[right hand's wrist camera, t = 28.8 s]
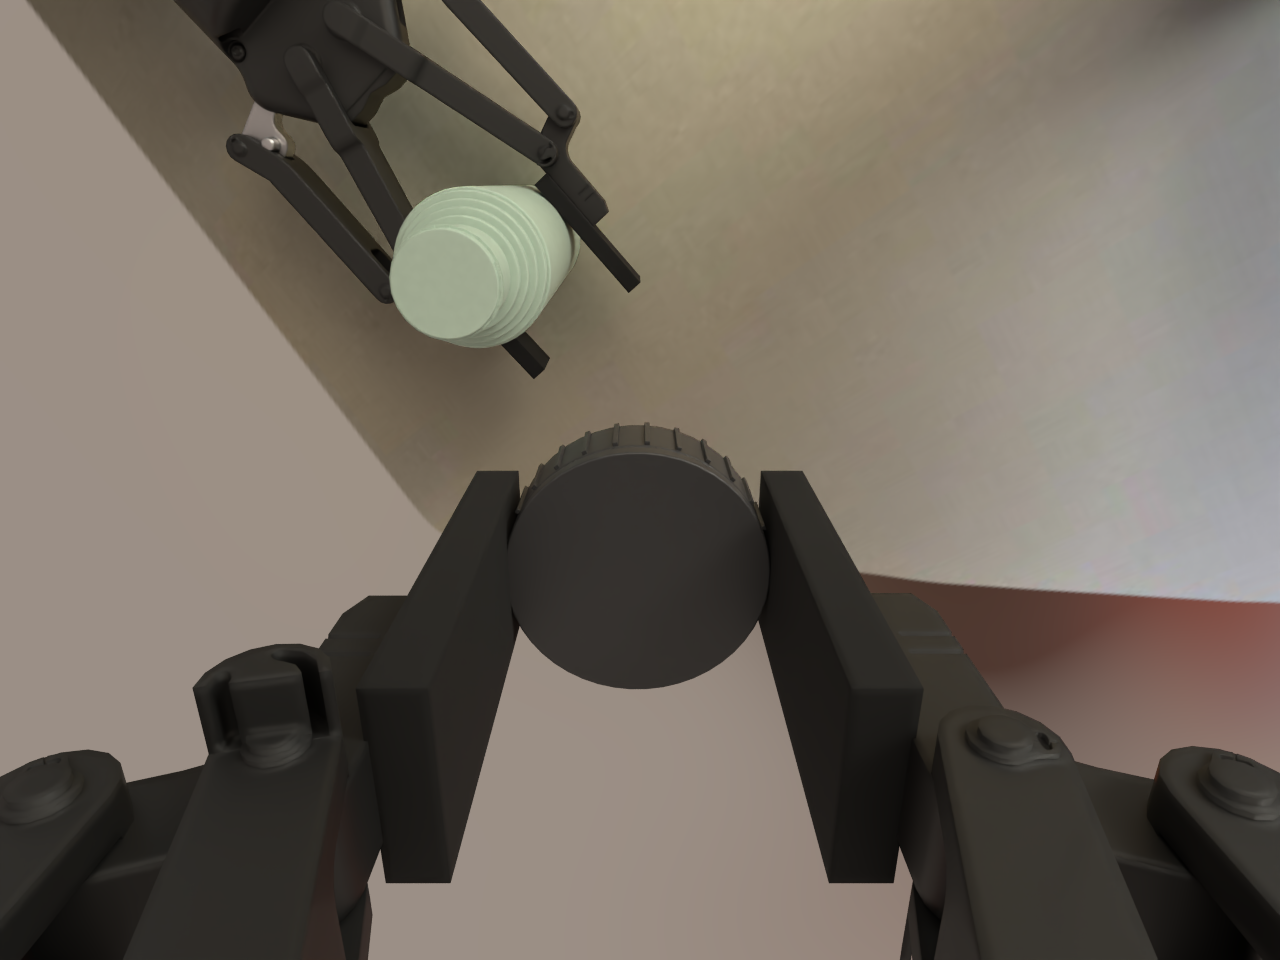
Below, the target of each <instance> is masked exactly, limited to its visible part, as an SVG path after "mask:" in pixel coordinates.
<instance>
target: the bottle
mask: <svg viewBox="0 0 1280 960" xmlns="http://www.w3.org/2000/svg"><path fill="white" fill-rule="evenodd" d="M579 250H580V237H579V236H578V234H577V233H576V232H575V231H574V230H573V229H572V228H571V226H570V225H569V224H568V223H567V222H566V221H565V220H564V218H563V217H562V216H561V215H560V214H559V213H558V212H557V210H556V209H555V208H554V207H553V206H552V205H551V203H550V202H549V201H548V200H547V199H546V198H545V197H544V195H543V194H542V193H541V192H540V191H539V190H538V189H537V187H536V186H533V185H504V186H461V187H453V188H448V189H444V190H442V191H439V192H436V193H434V194H432V195H431V196H429V197H427V198H425V199H424V200H423V201H422V202H420V203H419V204H418V205H417V206H416V207H415V208H414V209H413V210H412V211H411V212H410V213H409V215H408V216H407V218H406V219H405V220H404V222H403V224H402V226H401V228H400V230H399V233H398V236H397V239H396V243H395V247H394V254H393V260H392V262H391V268H390V276H389V280H390V288H391V294H392V297H393V299H394V302H395V304H396V307H397V309H398V310H399V312H400V313H401V314H402V316H403V317H404V319H405V320H406V321H407V322H408V323H409V324H410V325H411V326H413V327H414V328H415V329H416V330H417V331H419V332H421V333H423V334H425V335H427V336H429V337H430V338H434V339H438V340H443V341H446V342H449V343H452V344H455V345H458V346H463V347H468V348H488V347H493V346H498V345H501V344H504V343H507V342H509V341H511V340H513V339H515V338H516V337H518V336H519V335H521V334H522V333H524V332H525V331H526V330H527V329H528V328H529V327H530V326H531V325H532V324H533V323H534V321H535V320H536V319H537V318H538V316H539V315H540V313H541V312H542V311H543V309H544V308H545V306H546V305H547V304H548V302H549V301H550V299H551V298H552V296H553V295H554V294H555V292H556V291H557V289H558V288H559V287H560V285H561V284H562V282H563V281H564V279H565V278H566V277H567V275H568V274H569V272H570V271H571V269H572V268H573V266H574V265H575V262H576V260H577V258H578V254H579Z"/></svg>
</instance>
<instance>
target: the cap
mask: <svg viewBox="0 0 1280 960" xmlns="http://www.w3.org/2000/svg"><path fill="white" fill-rule="evenodd" d="M515 513H516V514H518V515H517V518H516V521H515V523H514V526H513V529H512V532H511V534H510V537H509V540H508V544H507V556H508V571H509V585H510V600H511V608H512V611H513V614H514V616H515V618H516V620H517V621H518V623H519V625H520V627H521V629H522V630H523V632H524V633H525V634H526V636H527V637H528V638H529V640H530V641H531V642H532V643H533V644H534V645H535V646H536V648H537V649H538V650H539V651H540V652H541V653H542V654H544V655H545V656H546V657H547V658H548V659H550V660H551V661H552V662H553V663H555V664H556V665H558V666H560V667H561V668H563V669H564V670H566V671H568V672H570V673H572V674H574V675H576V676H578V677H580V678H582V679H585V680H588V681H591V682H594V683H597V684H601V685H606V686H610V687H615V688H625V689H651V688H659V687H665V686H670V685H674V684H678V683H681V682H684V681H687V680H690V679H693V678H695V677H697V676H699V675H701V674H703V673H705V672H707V671H709V670H711V669H712V668H714V667H715V666H717V665H718V664H720V663H721V662H723V661H724V660H725V659H726V658H728V657H729V656H730V655H731V654H732V653H734V652H735V651H736V650H737V648H738V647H739V646H740V645H741V644H742V643H743V642H744V641H745V640H746V638H747V637H748V635H749V634H750V633H751V631H752V630H753V628H754V627H755V625H756V623H757V621H758V619H759V617H760V615H761V613H762V611H763V608H764V605H765V602H766V600H767V595H768V590H769V585H770V570H771V568H770V557H769V550H768V546H767V542H766V538H765V535H764V532H763V531H764V530H766V527H765V524H764V521H763V519H762V516H761V513H760V510H759V508H758V505H757V502H754V501H753V498H752V495H751V492H750V489H749V486H748V484H747V481H746V479H745V478H742V479H741V477H740V476H739V475H738V474H737V472H736V471H735V470H734V468H733V467H732V466H731V463H730V460H729V458H728V457H727V456H725V457H724V458H723V457H722V456H721V455H720V454H718V453H717V452H716V451H714V450H713V449H712V448H710V447H709V446H708V445H707V442H706V440H704V439H702V440H701V442H700V441H699V440H697V439H695V438H693V437H691V436H688V435H685V434H683V433H680V432H679V428H674V430H670V429H666V428H662V427H654V426H650V425H649V423H648V422H645V424H644V425H631V426H621V427H620V426H619V423H618V424H614V427H613V428H609V429H605V430H601V431H597V432H594V433H592V434H591V433H590V431H588V432H586V433H585V436H584V437H582V438H580V439H578V440H576V441H575V442H573V443H571V444H569V445H568V446H566V447H565V446H564V445H562V446H560V448H559V451H558V453H557V454H555V455H554V456H553V457H552V458H551V459H550V460H549V461H548V462H547V463H546V464H545V465H543V464H542V463H541V464H540V466H539V467H538V470H537V473H536V476H535V478H534V479H533V481H532V482H531V484H530V486H529V487H527V486H525V488H524V490H523V493H522V495H521V498H520V501H519V503H518V506H517V509H516V511H515Z"/></svg>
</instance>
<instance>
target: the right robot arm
mask: <svg viewBox="0 0 1280 960" xmlns="http://www.w3.org/2000/svg"><path fill="white" fill-rule="evenodd" d="M519 501H520V489H519V472H518V471H477V472H476V474H475V476H474V477H473V479H472V481H471V483H470V485H469V486H468V488H467V490H466V492H465V494H464V495H463V497H462V499H461V501H460V502H459V504H458V506H457V508H456V510H455V511H454V513H453V515H452V517H451V519H450V520H449V522H448V524H447V526H446V528H445V529H444V531H443V533H442V535H441V536H440V538H439V540H438V542H437V544H436V545H435V547H434V549H433V551H432V553H431V554H430V556H429V558H428V560H427V562H426V563H425V565H424V567H423V569H422V571H421V572H420V574H419V576H418V578H417V579H416V581H415V583H414V585H413V587H412V589H411V590H410V592H409V594H408V596H368V597H366V598H365V599H364V600H362V601H360V602H359V603H358V604H356V605H355V606H353V607H352V608H350V609H349V610H347V611H346V612H344V613H343V614H342V616H341V617H340V618H339V620H338V621H337V623H336V624H335V626H334V627H333V629H332V630H331V632H330V633H329V635H328V639H325V640H324V642H323V643H322V645H321V646H320V648H315V647H310V646H306V645H303V644H275V645H270V646H265V647H261V648H256V649H251V650H248V651H246V652H243V653H241V654H238V655H235V656H233V657H230V658H228V659H226V660H224V661H222V662H221V663H219V664H218V665H216V666H215V667H213V668H212V669H210V670H209V671H207V672H206V673H205V674H204V675H203V676H202V677H201V678H200V680H199V681H198V682H197V683H196V684H195V686H194V687H193V692H194V696H195V700H196V704H197V708H198V712H199V716H200V720H201V724H202V728H203V732H204V736H205V741H206V744H207V749H208V753H209V755H208V757H207V760H206V762H205V764H204V765H202V766H198V767H194V768H191V769H187V770H184V771H179V772H175V773H170V774H165V775H161V776H156V777H151V778H147V779H142V780H137V781H133V782H128V783H126V780H125V777H124V774H123V770H122V767H121V763H120V762H119V761H118V760H116V759H115V758H114V757H113V756H112V755H110V754H109V753H105V752H99V751H93V750H80V751H71V752H63V753H58V754H55V755H50V756H47V757H45V758H44V757H43V758H40V759H37V760H34V761H32V762H29V763H27V764H25V765H23V766H21V767H19V768H17V769H15V770H13V771H11V772H9V773H7V774H5V775H3V776H1V777H0V960H368V952H369V943H370V933H371V924H372V909H371V902H370V895H369V889H368V883H367V882H368V880H369V877H370V874H371V872H372V869H373V867H374V864H375V861H376V859H377V856H378V854H379V851H380V849H381V855H382V861H383V868H384V874H385V880H386V883H451V879H452V875H453V872H454V868H455V864H456V861H457V857H458V853H459V849H460V846H461V842H462V838H463V834H464V831H465V827H466V823H467V820H468V816H469V812H470V808H471V805H472V801H473V797H474V794H475V790H476V786H477V782H478V778H479V775H480V771H481V767H482V764H483V760H484V756H485V753H486V749H487V745H488V742H489V738H490V734H491V730H492V727H493V723H494V719H495V716H496V712H497V708H498V704H499V701H500V697H501V693H502V690H503V686H504V682H505V678H506V674H507V671H508V667H509V663H510V660H511V656H512V652H513V649H514V645H515V641H516V637H517V634H518V630H519V626H520V625H519V623H518V621H517V620H516V618H515V616H514V614H513V611H512V608H511V600H510V585H509V571H508V556H507V544H508V540H509V537H510V534H511V532H512V529H513V526H514V523H515V521H516V518H517V515H518V514H516V513H515V511H516V509H517V506H518V503H519ZM759 510H760V513H761V516H762V519H763V521H764V524H765V527H766V530H764V531H763V532H764V535H765V538H766V542H767V546H768V550H769V557H770V568H771V570H770V585H769V590H768V595H767V600H766V602H765V605H764V608H763V611H762V613H761V615H760V617H759V619H758V621H759V624H760V628H761V632H762V635H763V639H764V643H765V647H766V650H767V654H768V658H769V661H770V665H771V669H772V673H773V677H774V680H775V684H776V687H777V691H778V695H779V699H780V703H781V706H782V710H783V714H784V717H785V721H786V725H787V728H788V732H789V736H790V740H791V743H792V747H793V751H794V755H795V758H796V762H797V766H798V769H799V773H800V777H801V780H802V784H803V788H804V792H805V796H806V799H807V803H808V807H809V810H810V814H811V818H812V821H813V825H814V829H815V833H816V836H817V840H818V844H819V848H820V851H821V855H822V859H823V862H824V866H825V870H826V874H827V877H828V881H829V883H894V877H895V871H896V864H897V858H898V852H899V846H900V848H901V851H902V854H903V856H904V859H905V862H906V864H907V867H908V869H909V872H910V874H911V877H912V879H913V883H912V890H911V895H910V901H909V907H908V913H907V919H906V925H905V931H904V937H903V943H902V950H901V956H900V960H911V956H912V960H1280V773H1279V772H1277V771H1275V770H1273V769H1271V768H1268V767H1266V766H1264V765H1262V764H1260V763H1258V762H1256V761H1255V760H1253V759H1251V758H1248V757H1245V756H1242V755H1239V754H1234V753H1233V752H1228V751H1224V750H1221V749H1213V748H1205V747H1196V746H1190V747H1184V748H1178V749H1173V750H1171V751H1169V752H1168V753H1167V754H1166V755H1165V756H1163V757H1162V758H1161V759H1160V761H1159V765H1158V768H1157V771H1156V775H1155V778H1154V779H1149V778H1144V777H1139V776H1134V775H1130V774H1125V773H1121V772H1116V771H1111V770H1107V769H1102V768H1097V767H1094V766H1090V765H1086V764H1083V763H1079V762H1076V761H1074V758H1073V756H1072V754H1071V752H1070V751H1069V749H1068V748H1067V746H1066V745H1065V744H1064V742H1063V741H1062V739H1061V738H1060V737H1059V736H1058V735H1057V734H1055V733H1054V732H1053V731H1051V730H1050V729H1049V728H1047V727H1046V726H1045V725H1043V724H1042V723H1041V722H1039V721H1036V720H1034V719H1032V718H1030V717H1028V716H1025V715H1023V714H1021V713H1019V712H1017V711H1012V710H1008V709H1004V707H1003V706H1002V704H1001V703H1000V702H999V700H998V699H997V697H996V696H995V694H994V693H993V692H992V690H991V689H990V687H989V686H988V684H987V683H986V681H985V680H984V678H983V677H982V676H981V674H980V673H979V671H978V670H977V668H976V667H975V665H974V664H973V662H972V661H971V660H970V658H969V657H968V655H967V654H964V652H963V648H962V647H961V645H960V644H959V642H958V641H957V639H956V638H955V636H952V635H951V631H950V629H949V628H948V626H947V625H946V623H945V622H944V620H943V619H942V618H941V616H940V615H939V613H938V612H937V611H936V610H935V609H933V608H932V607H930V606H929V605H927V604H926V603H924V602H923V601H921V600H920V599H919V598H917V597H916V596H914V595H913V594H911V593H870V591H869V590H868V588H867V586H866V584H865V582H864V581H863V579H862V577H861V575H860V573H859V571H858V570H857V568H856V566H855V564H854V563H853V561H852V559H851V557H850V555H849V554H848V552H847V550H846V548H845V546H844V545H843V543H842V541H841V539H840V537H839V536H838V534H837V532H836V530H835V529H834V527H833V525H832V523H831V521H830V520H829V518H828V516H827V514H826V512H825V511H824V509H823V507H822V505H821V503H820V502H819V500H818V498H817V496H816V495H815V493H814V491H813V489H812V487H811V486H810V484H809V482H808V480H807V478H806V477H805V475H804V473H803V471H761V480H760V497H759Z"/></svg>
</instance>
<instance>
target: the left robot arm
mask: <svg viewBox="0 0 1280 960" xmlns="http://www.w3.org/2000/svg"><path fill="white" fill-rule="evenodd" d="M174 1H175V2H176V3H177V5H178V6H179V7H180V8H181V9H182V10H183V11H184V12H185V13H186V14H187V15H188V16H189V17H190V18H191V19H192V20H193V21H194V22H195V23H196V24H197V25H198V27H199V28H200V29H201V30H202V31H203V32H204V33H205V34H206V35H207V36H208V37H209V38H210V39H211V40H212V41H213V42H214V43H215V44H216V45H217V46H218V47H219V49H220V50H221V51H222V52H223V53H224V54H225V55H226V56H227V57H228V58H229V59H230V60H231V61H232V62H233V63H234V64H235V65H236V67H237V68H238V69H239V71H240V73H241V74H242V76H243V78H244V81H245V83H246V86H247V89H248V92H249V94H250V96H251V97H252V99H253V100H254V104H253V106H252V109H251V111H250V114H249V117H248V119H247V122H246V124H245V127H244V129H243V132H242V134H233V135H232V136H230V137H229V138H228V140H227V143H226V148H227V152H228V154H229V155H230V157H231V158H233V159H234V160H235V161H237V162H238V163H240V164H242V165H243V166H245V167H247V168H249V169H250V170H252V171H254V172H255V173H257V174H259V175H260V176H262V177H264V178H266V179H267V180H269V181H270V182H271V183H272V184H273V185H274V186H275V187H276V189H277V190H278V191H279V192H280V193H281V194H282V195H283V196H284V197H285V198H286V200H287V201H288V202H289V203H290V204H291V205H292V206H293V207H294V208H295V209H296V211H297V212H298V213H299V214H300V215H301V216H302V217H303V218H304V219H305V220H306V222H307V223H308V224H309V225H310V226H311V227H312V228H313V229H314V230H315V231H316V233H317V234H318V235H319V236H320V237H321V238H322V239H323V240H324V241H325V242H326V244H327V245H328V246H329V247H330V248H331V249H332V250H333V251H334V252H335V253H336V255H337V256H338V257H339V258H340V259H341V260H342V261H343V262H344V263H345V264H346V266H347V267H348V268H349V269H350V270H351V271H352V272H353V273H354V274H355V275H356V277H357V278H358V279H359V280H360V281H361V282H362V283H363V284H364V285H365V286H366V288H367V289H368V290H369V291H370V292H371V293H372V294H373V295H374V296H375V297H376V299H378V300H379V301H380V302H382V303H385V304H389V303H392V302H394V299H393V297H392V294H391V288H390V280H389V276H390V268H391V262H392V259H391V258H390V257H389V255H388V254H387V253H386V252H385V251H384V250H383V249H382V248H381V246H380V245H379V244H378V243H377V242H376V241H375V240H374V239H373V237H372V236H371V235H370V234H369V233H368V232H367V231H366V229H365V228H364V227H363V226H362V225H361V224H360V223H359V222H358V220H357V219H356V218H355V217H354V216H353V215H352V214H351V213H350V211H349V210H348V209H347V208H346V207H345V206H344V205H343V204H342V202H341V201H340V200H339V199H338V198H337V197H336V196H335V194H334V193H333V192H332V191H331V190H330V189H329V188H328V187H327V185H326V184H325V183H324V182H323V181H322V180H321V179H320V178H319V176H318V175H317V174H316V173H315V172H314V171H313V170H312V169H311V168H310V167H309V166H308V165H307V164H306V163H305V162H303V161H302V160H301V159H300V158H298V157H297V156H295V155H294V153H295V143H294V141H293V139H292V138H291V137H290V136H289V135H288V134H287V133H286V132H285V130H284V128H283V125H282V117H283V115H286V116H291V117H295V118H299V119H303V120H308V121H312V122H316V123H319V125H320V127H321V129H322V131H323V132H324V134H325V136H326V138H327V139H328V141H329V143H330V145H331V146H332V148H333V149H334V150H335V151H336V152H337V153H338V154H339V155H340V157H341V158H342V160H343V161H344V163H345V165H346V167H347V169H348V170H349V172H350V174H351V176H352V178H353V179H354V181H355V183H356V185H357V187H358V188H359V190H360V192H361V194H362V196H363V197H364V199H365V201H366V203H367V204H368V206H369V208H370V210H371V212H372V213H373V215H374V217H375V219H376V221H377V222H378V224H379V226H380V228H381V230H382V231H383V233H384V235H385V237H386V238H387V240H388V242H389V244H390V246H391V247H392V249H393V251H394V247H395V243H396V239H397V236H398V233H399V230H400V228H401V226H402V224H403V222H404V220H405V219H406V218H407V216H408V215H409V213H410V212H411V211H412V210H413V208H412V206H411V204H410V203H409V201H408V199H407V197H406V195H405V193H404V191H403V190H402V188H401V186H400V184H399V182H398V180H397V178H396V177H395V175H394V173H393V171H392V169H391V167H390V165H389V164H388V162H387V160H386V158H385V156H384V154H383V153H382V151H381V149H380V146H379V141H378V138H377V136H376V134H375V132H374V130H373V129H372V127H371V125H370V123H369V121H370V120H371V119H372V118H373V117H374V115H375V114H376V113H377V111H378V109H379V107H380V105H381V103H382V101H383V99H384V98H385V97H386V96H388V95H389V94H391V93H393V92H395V91H396V90H398V89H399V88H400V87H401V86H402V85H403V84H404V83H405V82H406V81H407V80H409V81H410V82H412V83H413V84H415V85H417V86H418V87H420V88H421V89H423V90H425V91H426V92H428V93H429V94H431V95H432V96H434V97H435V98H437V99H438V100H440V101H441V102H443V103H444V104H446V105H448V106H449V107H451V108H452V109H454V110H455V111H457V112H458V113H460V114H461V115H463V116H464V117H466V118H467V119H469V120H470V121H472V122H474V123H475V124H477V125H478V126H480V127H481V128H483V129H484V130H486V131H487V132H489V133H490V134H492V135H493V136H495V137H497V138H498V139H500V140H501V141H503V142H504V143H506V144H507V145H509V146H510V147H512V148H513V149H515V150H516V151H518V152H519V153H521V154H523V155H524V156H526V157H527V158H529V159H530V160H532V161H533V162H535V163H536V164H537V165H539V166H540V167H541V168H542V169H543V170H544V171H545V173H546V174H545V175H544V176H543V177H542V178H541V179H540V180H539V181H538V182H537V183H536V184H535V186H536V187H537V189H538V190H539V191H540V192H541V193H542V194H543V195H544V197H545V198H546V199H547V200H548V201H549V202H550V203H551V205H552V206H553V207H554V208H555V209H556V210H557V212H558V213H559V214H560V215H561V216H562V217H563V218H564V220H565V221H566V222H567V223H568V224H569V225H570V226H571V228H572V229H573V230H574V231H575V232H576V233H577V234H578V236H579V237H580V238H581V239H582V240H583V241H584V242H585V244H586V245H587V246H588V247H589V248H590V249H591V250H592V252H593V253H594V254H595V255H596V256H597V257H598V258H599V260H600V261H601V262H602V263H603V264H604V265H605V266H606V268H607V269H608V270H609V271H610V272H611V273H612V274H613V276H614V277H615V278H616V279H617V280H618V281H619V282H620V284H621V285H622V286H623V287H624V288H625V289H626V290H627V292H628V293H629V292H630V291H631V290H633V289H634V288H635V287H636V286H637V285H638V284H639V283H640V276H639V275H638V273H637V272H636V271H635V270H634V269H633V268H632V266H631V265H630V264H629V263H628V262H627V261H626V260H625V258H624V257H623V256H622V255H621V254H620V253H619V251H618V250H617V249H616V248H615V247H614V246H613V244H612V243H611V242H610V241H609V240H608V239H607V237H606V236H605V235H604V234H603V233H602V232H601V231H600V229H599V228H598V227H597V226H596V225H595V224H596V223H597V222H599V221H600V220H601V219H602V218H603V217H604V216H605V215H606V214H607V213H608V212H609V210H608V207H607V204H606V202H605V200H604V199H603V197H602V196H601V195H600V194H599V193H598V192H597V190H596V189H595V188H594V187H593V186H592V184H591V183H590V182H589V181H588V180H587V179H586V177H585V176H584V175H583V174H582V173H581V171H580V170H579V169H578V168H577V167H576V166H575V164H574V163H573V162H572V161H571V159H570V157H569V154H568V145H569V142H570V140H571V138H572V135H573V133H574V131H575V129H576V127H577V126H578V124H579V122H580V112H579V110H578V108H577V107H576V105H575V104H574V103H573V101H572V100H571V99H570V98H569V97H568V96H567V95H566V94H565V93H564V92H563V90H562V89H561V88H560V87H559V86H558V85H557V84H556V83H555V82H554V81H553V79H552V78H551V77H550V76H549V75H548V74H547V73H546V72H545V71H544V70H543V68H542V67H541V66H540V65H539V64H538V63H537V62H536V61H535V60H534V59H533V57H532V56H531V55H530V54H529V53H528V52H527V51H526V50H525V49H524V48H523V46H522V45H521V44H520V43H519V42H518V41H517V40H516V39H515V38H514V37H513V35H512V34H511V33H510V32H509V31H508V30H507V29H506V28H505V27H504V26H503V24H502V23H501V22H500V21H499V20H498V19H497V18H496V17H495V16H494V15H493V13H492V12H491V11H490V10H489V9H488V8H487V7H486V6H485V5H484V4H483V2H482V1H481V0H442V1H443V2H444V3H445V5H446V6H447V7H448V8H449V9H450V10H451V11H452V12H453V13H454V15H455V16H456V17H457V18H458V19H459V20H460V21H461V22H462V23H463V24H464V25H465V26H466V28H467V29H468V30H469V31H470V32H471V33H472V34H473V35H474V36H475V37H476V38H477V39H478V40H479V42H480V43H481V44H482V45H483V46H484V47H485V48H486V49H487V50H488V51H489V52H490V53H491V55H492V56H493V57H494V58H495V59H496V60H497V61H498V62H499V63H500V64H501V65H502V66H503V68H504V69H505V70H506V71H507V72H508V73H509V74H510V75H511V76H512V77H513V78H514V79H515V81H516V82H517V83H518V84H519V85H520V86H521V87H522V88H523V89H524V90H525V91H526V92H527V93H528V95H529V96H530V97H531V98H532V99H533V100H534V101H535V102H536V103H537V104H538V105H539V106H540V108H541V109H542V110H543V111H544V112H545V113H546V114H547V115H548V118H547V120H546V123H545V125H544V127H543V129H542V131H541V133H540V132H539V131H537V130H536V129H534V128H533V127H531V126H530V125H528V124H526V123H525V122H523V121H522V120H520V119H519V118H517V117H516V116H514V115H513V114H511V113H510V112H508V111H507V110H505V109H504V108H502V107H501V106H499V105H498V104H496V103H495V102H493V101H492V100H490V99H489V98H487V97H486V96H484V95H483V94H481V93H480V92H478V91H477V90H475V89H474V88H472V87H471V86H469V85H468V84H466V83H465V82H463V81H462V80H460V79H459V78H457V77H456V76H454V75H453V74H451V73H450V72H448V71H447V70H445V69H444V68H442V67H441V66H439V65H438V64H436V63H435V62H433V61H432V60H430V59H429V58H427V57H426V56H424V55H423V54H421V53H420V52H418V51H417V50H415V49H414V48H412V47H411V46H410V44H409V39H408V33H407V28H406V22H405V17H404V11H403V6H402V0H174ZM501 345H502V346H503V347H504V348H505V349H506V350H507V351H508V352H509V354H510V355H511V356H512V357H513V358H514V359H515V360H516V361H517V362H518V363H519V364H520V365H521V366H522V367H523V368H524V369H525V370H526V371H527V372H528V373H529V374H530V376H531V377H532V378H533V379H535V378H536V377H537V376H538V375H539V374H540V373H541V372H542V371H543V370H544V369H545V368H546V365H547V363H548V361H549V359H550V357H549V356H548V355H547V354H546V353H545V352H544V351H543V350H542V349H541V348H540V347H539V346H538V345H537V344H536V342H535V341H534V340H533V339H532V338H531V337H530V336H529V335H528V334H527V333H526V332H524V333H522V334H521V335H519V336H518V337H516V338H515V339H513V340H511V341H509V342H507V343H504V344H501Z"/></svg>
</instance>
